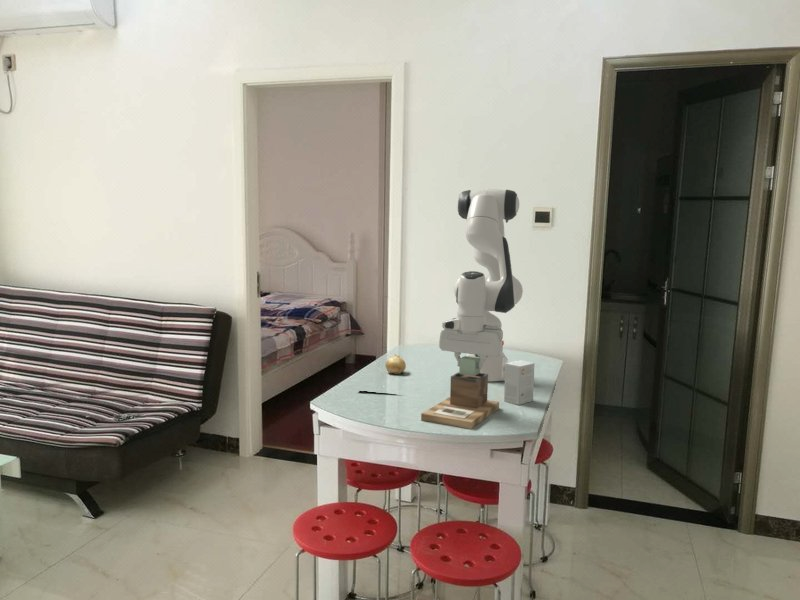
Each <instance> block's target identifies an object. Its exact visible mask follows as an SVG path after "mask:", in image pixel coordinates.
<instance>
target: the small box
mask: <svg viewBox="0 0 800 600" xmlns="http://www.w3.org/2000/svg"><path fill="white" fill-rule="evenodd" d="M534 382H535V362H532V361H526V360H521V359H519V360H514V361H508V363H505V381H504V396H503V397H504V398H503V401H504V402H506V403H509V404H512V405H517V406H521V405H524V404H528V403H530V402H533V401H534V391H535V390H534V385H535V383H534Z"/></svg>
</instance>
